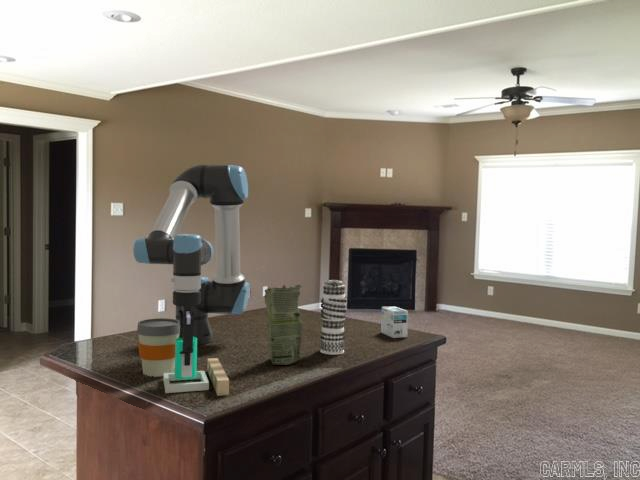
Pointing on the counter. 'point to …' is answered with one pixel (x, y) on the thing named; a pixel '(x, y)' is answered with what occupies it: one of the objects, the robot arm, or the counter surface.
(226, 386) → the edge strip
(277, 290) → the pouch
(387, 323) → the light bulb box
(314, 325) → the counter surface
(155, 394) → the counter surface
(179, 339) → the candle
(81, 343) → the counter surface
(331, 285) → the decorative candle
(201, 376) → the frame
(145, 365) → the reusable coffee cup
